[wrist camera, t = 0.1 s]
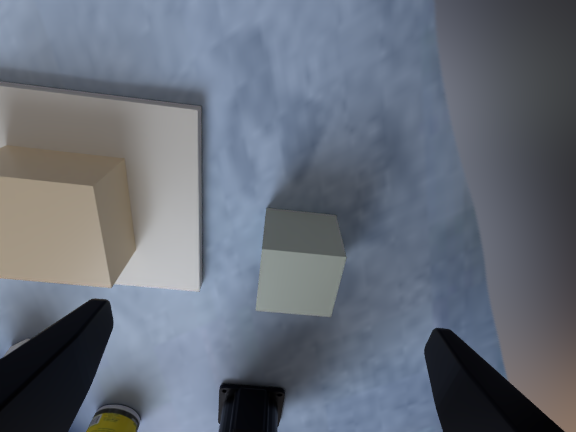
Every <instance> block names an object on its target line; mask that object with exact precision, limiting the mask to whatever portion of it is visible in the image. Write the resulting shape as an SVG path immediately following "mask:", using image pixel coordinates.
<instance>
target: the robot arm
mask: <svg viewBox="0 0 576 432" xmlns="http://www.w3.org/2000/svg"><path fill="white" fill-rule="evenodd" d="M112 329H113V316H112V310H111V305H110V302H109V301H108V300H106V299H91V300H89V301H88V302H86V303H84V304H83V305H81V306H80V307H78V308H77V309H75V310H74V311H72V312H71V313H69V314H68V315H66V316H65V317H63V318H62V319H60V320H59V321H57V322H56V323H54V324H53V325H51V326H50V327H48V328H47V329H45V330H44V331H42V332H41V333H39V334H38V335H36V336H35V337H33V338H32V339H30V340H28V341H27V342H25V343H24V344H22V345H21V346H19V347H18V348H16V349H15V350H13V351H12V352H10V353H9V354H7V355H6V356H4V357H3V358H1V359H0V432H68V431H69V429H70V427H71V425H72V423H73V421H74V419H75V417H76V415H77V413H78V411H79V409H80V407H81V405H82V403H83V401H84V399H85V397H86V395H87V393H88V391H89V389H90V386H91V384H92V382H93V379H94V377H95V374H96V372H97V369H98V366H99V364H100V361H101V358H102V356H103V353H104V350H105V348H106V345H107V343H108V340H109V337H110V335H111V332H112ZM424 354H425V360H426V364H427V369H428V374H429V378H430V383H431V388H432V393H433V397H434V402H435V406H436V410H437V413H438V417H439V420H440V423H441V426H442V429H443V432H564V431H563V430H562V429H561V428H560V427H559V426H558V425H556V424H555V423H554V422H553V421H552V420H551V419H550V418H548V417H547V416H546V415H545V414H544V413H543V412H542V411H541V410H540V409H539V408H538V407H536V406H535V405H534V404H533V403H532V402H531V401H530V400H529V399H527V398H526V397H525V396H524V395H523V394H522V393H521V392H520V391H518V390H517V389H516V388H515V387H514V386H513V385H512V384H511V383H510V382H508V381H507V380H506V379H505V378H504V377H503V376H502V375H501V374H499V373H498V372H497V371H496V370H495V369H494V368H493V367H492V366H491V365H489V364H488V363H487V362H486V361H485V360H484V359H483V358H482V357H480V356H479V355H478V354H477V353H476V352H475V351H474V350H473V349H472V348H470V347H469V346H468V345H467V344H466V343H465V342H464V341H463V340H461V339H460V338H459V337H458V336H457V335H456V334H455V333H454V332H452V331H451V330H450V329H444V328H435V329H434V330H433V331H432V333H431V335H430V337H429V339H428V341H427V343H426V346H425V349H424ZM284 396H285V390H284V389H282V388H270V387H257V386H243V385H229V384H223V385H221V386H220V390H219V414H218V423H219V424H220V426H219V432H277V427H278V426H279V422H280V417H281V412H282V407H283V402H284Z"/></svg>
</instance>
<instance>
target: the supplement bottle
mask: <svg viewBox="0 0 576 432" xmlns="http://www.w3.org/2000/svg"><path fill="white" fill-rule="evenodd" d="M139 424H140V417H139V415H138V414H137V413H136V412H135V411H134V410H133V409H131V408H129V407H127V406H123V405H106V406H103V407H101V408H99V409H98V410H97V411H96V413H95V415H94V417H93V419H92V421H91V423H90V425H89V427H88V429H87V431H86V432H137V430H138V427H139Z"/></svg>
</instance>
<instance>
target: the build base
mask: <svg viewBox="0 0 576 432" xmlns="http://www.w3.org/2000/svg"><path fill="white" fill-rule="evenodd" d="M0 278H4V279H15V280H26V281H38V282H49V283H60V284H72V285H83V286H94V287H105V288H112V286H113V285H114V284H118V285H129V286H140V287H151V288H163V289H174V290H185V291H196V292H200V289H201V286H202V125H201V106H196V105H188V104H180V103H172V102H164V101H156V100H147V99H139V98H131V97H123V96H115V95H107V94H99V93H91V92H83V91H74V90H66V89H58V88H50V87H42V86H34V85H26V84H18V83H10V82H1V81H0Z"/></svg>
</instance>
